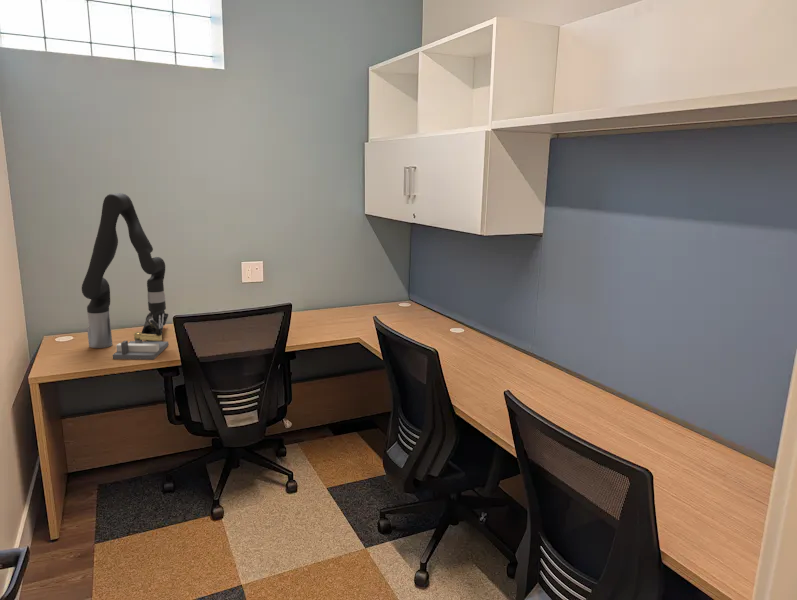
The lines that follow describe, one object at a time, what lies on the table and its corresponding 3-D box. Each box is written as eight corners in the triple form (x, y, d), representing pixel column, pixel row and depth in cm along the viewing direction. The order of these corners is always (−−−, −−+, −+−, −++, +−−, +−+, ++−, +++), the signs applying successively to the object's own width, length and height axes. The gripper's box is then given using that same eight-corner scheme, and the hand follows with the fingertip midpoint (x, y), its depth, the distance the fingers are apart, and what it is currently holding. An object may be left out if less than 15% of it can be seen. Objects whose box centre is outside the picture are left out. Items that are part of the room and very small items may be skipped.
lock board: (112, 359, 254) (111, 343, 253) (130, 344, 274) (129, 330, 272) (153, 359, 256) (152, 343, 254) (168, 345, 275) (167, 330, 273)
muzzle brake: (141, 344, 275) (140, 324, 272) (147, 328, 301) (145, 310, 298) (162, 343, 278) (161, 323, 275) (166, 327, 304) (165, 309, 301)
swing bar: (133, 339, 264) (133, 334, 264) (137, 337, 267) (136, 332, 267) (159, 341, 263) (159, 335, 263) (162, 339, 266) (162, 333, 266)
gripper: (158, 296, 270) (161, 330, 274) (140, 302, 257) (143, 338, 262) (172, 297, 268) (174, 332, 272) (154, 304, 256) (157, 340, 260)
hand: (159, 335), depth 267 cm, fingers closed
